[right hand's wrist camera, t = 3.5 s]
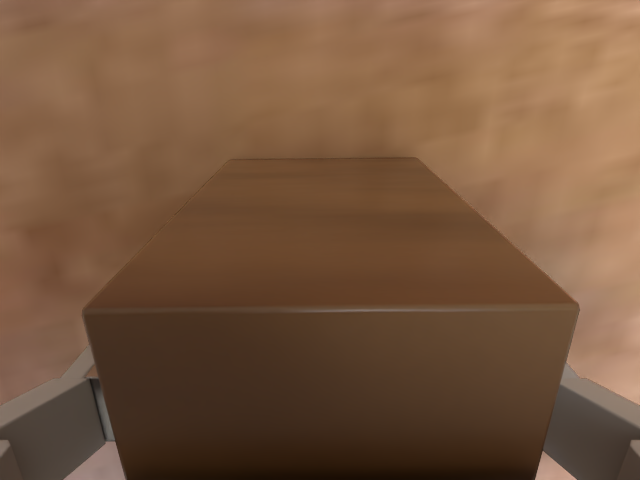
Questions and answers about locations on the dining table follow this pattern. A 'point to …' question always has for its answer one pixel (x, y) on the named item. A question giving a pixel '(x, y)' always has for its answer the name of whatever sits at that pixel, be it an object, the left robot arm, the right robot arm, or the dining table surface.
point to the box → (329, 333)
